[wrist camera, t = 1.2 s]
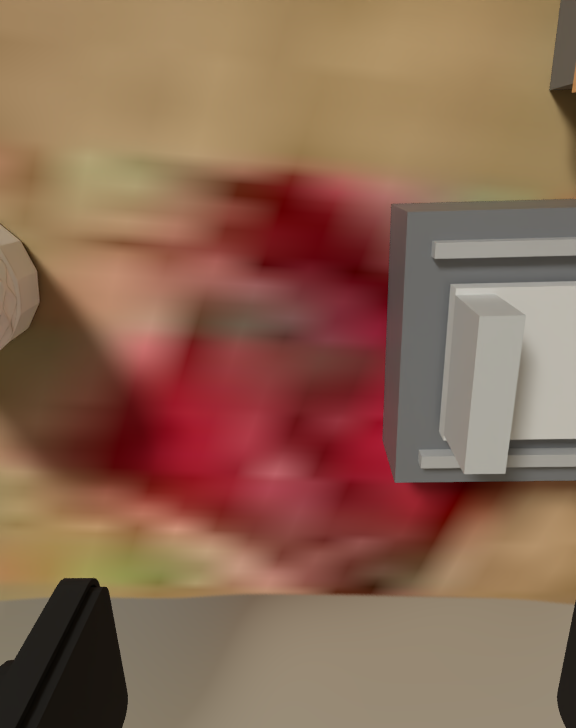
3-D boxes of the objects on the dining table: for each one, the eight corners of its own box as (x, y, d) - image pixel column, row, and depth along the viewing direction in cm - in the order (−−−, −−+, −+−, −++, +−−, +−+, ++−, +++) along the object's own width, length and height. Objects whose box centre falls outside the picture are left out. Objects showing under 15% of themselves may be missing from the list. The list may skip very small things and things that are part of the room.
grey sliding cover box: (391, 203, 24) (410, 213, 20) (756, 193, 24) (857, 201, 19) (382, 440, 29) (396, 489, 24) (692, 435, 28) (763, 485, 24)
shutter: (450, 283, 21) (480, 308, 18) (619, 280, 21) (684, 304, 17) (438, 431, 23) (463, 480, 20) (591, 429, 23) (643, 477, 20)
